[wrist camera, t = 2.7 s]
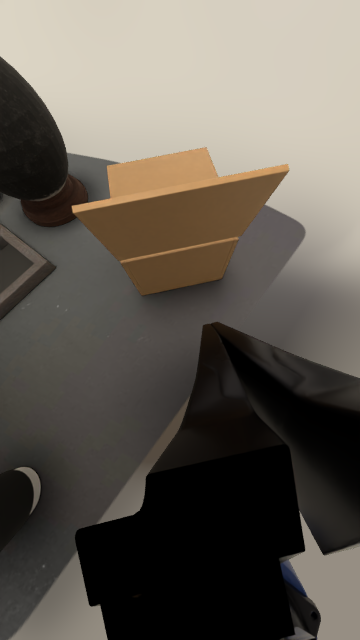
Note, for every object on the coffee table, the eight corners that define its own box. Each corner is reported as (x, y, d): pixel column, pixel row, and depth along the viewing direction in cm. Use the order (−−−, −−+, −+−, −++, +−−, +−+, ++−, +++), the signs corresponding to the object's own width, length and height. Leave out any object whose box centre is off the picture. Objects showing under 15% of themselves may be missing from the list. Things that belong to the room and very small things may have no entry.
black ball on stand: (45, 244, 25) (-139, 89, 11) (8, 203, 28) (-176, 38, 14) (107, 200, 28) (23, 23, 13) (67, 166, 31) (-38, -10, 16)
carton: (221, 279, 23) (241, 232, 15) (141, 295, 22) (116, 258, 14) (200, 212, 26) (206, 146, 18) (130, 226, 26) (106, 165, 18)
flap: (240, 232, 15) (241, 236, 15) (117, 257, 14) (118, 261, 14) (288, 163, 8) (289, 170, 8) (71, 205, 8) (72, 212, 8)
